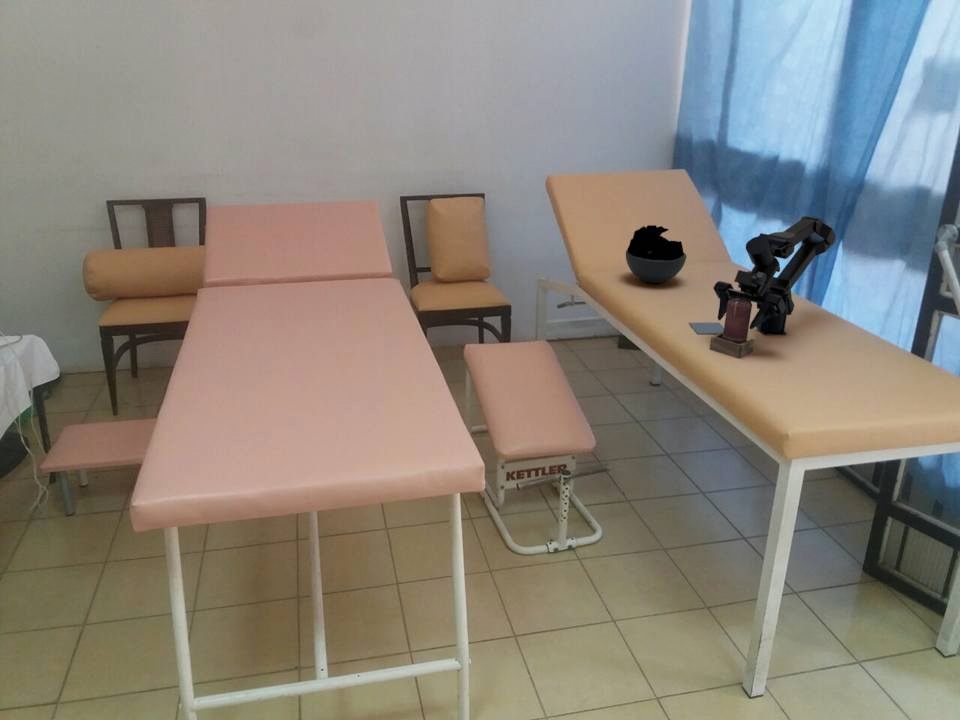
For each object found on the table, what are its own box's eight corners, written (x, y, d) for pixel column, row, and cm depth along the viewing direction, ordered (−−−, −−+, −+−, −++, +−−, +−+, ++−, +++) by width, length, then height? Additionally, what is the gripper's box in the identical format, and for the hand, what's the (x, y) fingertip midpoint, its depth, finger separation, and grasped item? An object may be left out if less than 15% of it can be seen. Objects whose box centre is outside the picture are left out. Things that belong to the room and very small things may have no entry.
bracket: (723, 342, 213) (724, 330, 212) (752, 351, 208) (754, 339, 206) (709, 348, 209) (711, 336, 208) (739, 358, 203) (741, 345, 202)
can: (718, 351, 208) (726, 301, 202) (723, 343, 213) (730, 294, 207) (742, 355, 205) (750, 305, 200) (746, 347, 210) (754, 298, 205)
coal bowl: (648, 270, 279) (653, 218, 271) (695, 283, 264) (702, 228, 257) (611, 280, 267) (615, 225, 259) (657, 294, 253) (663, 237, 245)
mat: (718, 323, 228) (718, 322, 228) (729, 334, 219) (729, 333, 219) (688, 323, 227) (688, 322, 227) (697, 334, 219) (697, 333, 219)
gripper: (721, 251, 208) (694, 299, 205) (788, 266, 196) (759, 317, 193) (732, 274, 216) (706, 320, 214) (797, 289, 204) (770, 339, 201)
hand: (734, 324), depth 205 cm, fingers open, 9 cm apart
